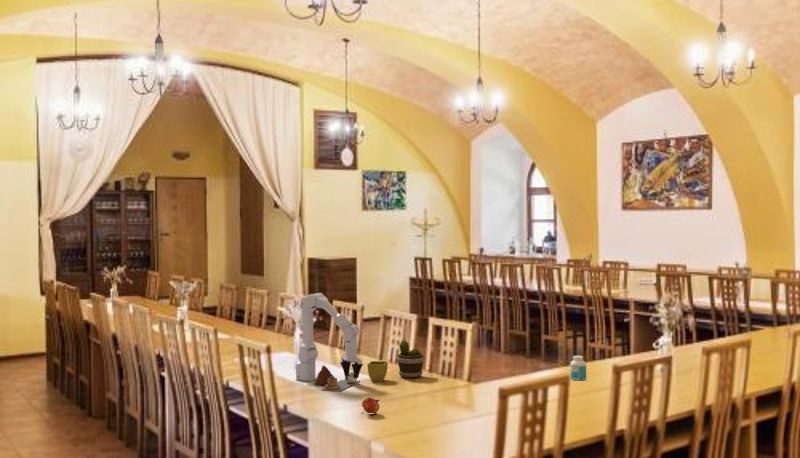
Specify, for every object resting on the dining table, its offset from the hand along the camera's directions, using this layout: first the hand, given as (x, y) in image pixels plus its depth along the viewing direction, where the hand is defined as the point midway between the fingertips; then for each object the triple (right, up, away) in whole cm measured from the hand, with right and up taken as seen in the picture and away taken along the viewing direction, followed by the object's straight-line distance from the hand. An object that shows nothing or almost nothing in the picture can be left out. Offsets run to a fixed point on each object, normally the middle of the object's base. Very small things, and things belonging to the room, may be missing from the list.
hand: (351, 376), depth 393 cm
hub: (0, -3, 0) cm, 3 cm away
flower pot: (+13, -3, +6) cm, 15 cm away
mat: (-5, -3, -6) cm, 8 cm away
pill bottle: (+110, -2, -9) cm, 110 cm away
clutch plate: (0, -1, 0) cm, 1 cm away
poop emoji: (-13, -4, -1) cm, 14 cm away
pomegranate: (+12, -4, -63) cm, 65 cm away
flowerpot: (+29, -3, +14) cm, 33 cm away
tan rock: (-8, -3, -12) cm, 15 cm away
